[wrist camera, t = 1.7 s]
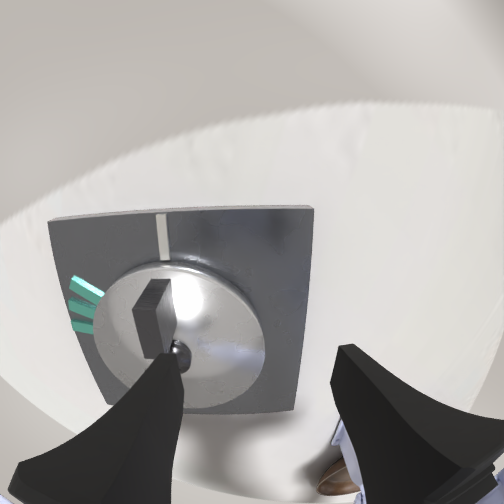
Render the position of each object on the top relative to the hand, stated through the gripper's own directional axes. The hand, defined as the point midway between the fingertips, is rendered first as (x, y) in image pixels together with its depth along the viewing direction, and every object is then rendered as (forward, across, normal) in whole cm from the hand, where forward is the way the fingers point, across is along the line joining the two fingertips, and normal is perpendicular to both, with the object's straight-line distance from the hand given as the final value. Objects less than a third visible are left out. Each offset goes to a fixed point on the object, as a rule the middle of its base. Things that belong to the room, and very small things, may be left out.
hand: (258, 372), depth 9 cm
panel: (+9, +5, +4) cm, 12 cm away
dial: (+8, +5, +4) cm, 10 cm away
